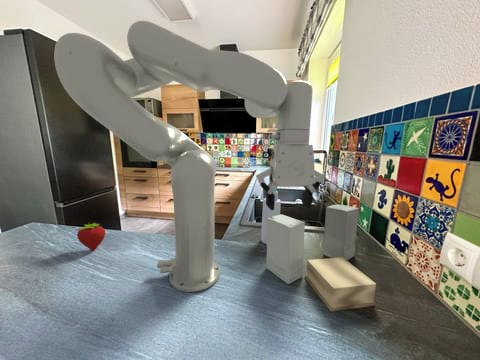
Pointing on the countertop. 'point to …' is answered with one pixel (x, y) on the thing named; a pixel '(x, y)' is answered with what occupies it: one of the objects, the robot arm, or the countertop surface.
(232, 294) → the countertop surface
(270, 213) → the spray bottle
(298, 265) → the skincare box
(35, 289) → the countertop surface
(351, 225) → the skincare box
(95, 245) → the strawberry
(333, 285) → the riser block
